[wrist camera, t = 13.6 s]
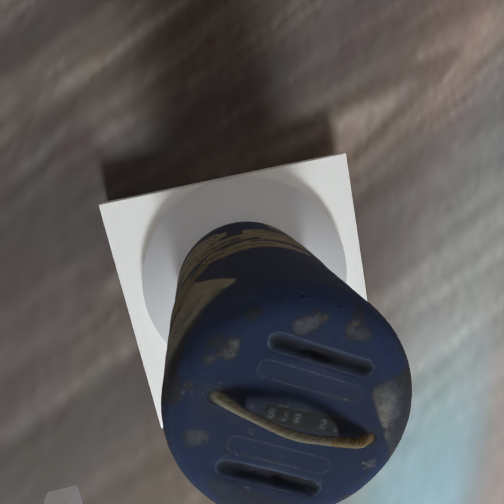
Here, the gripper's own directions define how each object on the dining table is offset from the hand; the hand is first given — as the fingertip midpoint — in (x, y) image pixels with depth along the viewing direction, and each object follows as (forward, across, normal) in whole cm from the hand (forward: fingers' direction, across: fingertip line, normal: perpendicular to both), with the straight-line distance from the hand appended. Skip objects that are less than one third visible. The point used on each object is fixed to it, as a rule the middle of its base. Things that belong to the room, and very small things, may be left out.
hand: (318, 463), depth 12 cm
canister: (+20, 0, 0) cm, 20 cm away
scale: (+24, 0, -2) cm, 24 cm away
